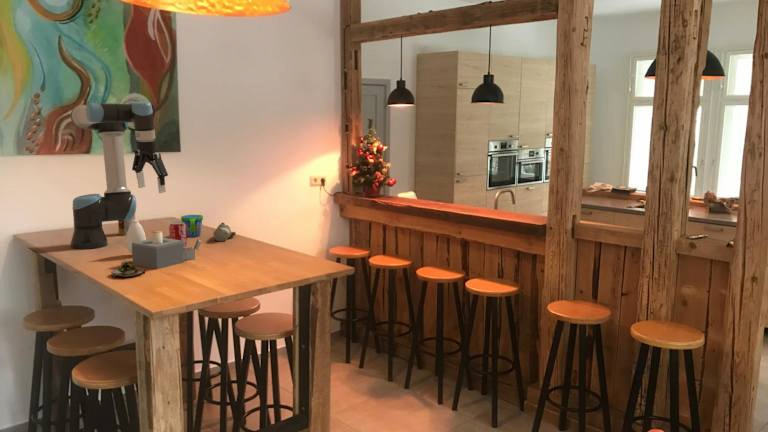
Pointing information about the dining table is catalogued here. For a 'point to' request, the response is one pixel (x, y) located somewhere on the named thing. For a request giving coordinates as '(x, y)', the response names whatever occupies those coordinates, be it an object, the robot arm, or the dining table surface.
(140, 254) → the gray square-hole box
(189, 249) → the lighter
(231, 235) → the ceramic sculpture
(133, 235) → the sauce bottle
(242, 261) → the dining table surface
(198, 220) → the snack cup
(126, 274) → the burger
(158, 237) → the coin roll
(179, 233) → the soda can
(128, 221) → the canned food
